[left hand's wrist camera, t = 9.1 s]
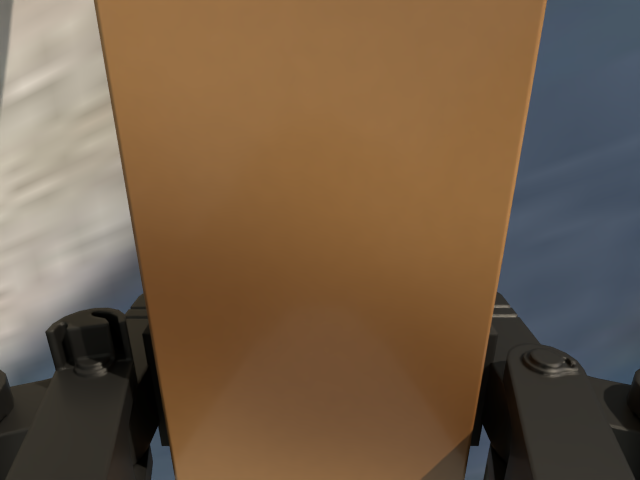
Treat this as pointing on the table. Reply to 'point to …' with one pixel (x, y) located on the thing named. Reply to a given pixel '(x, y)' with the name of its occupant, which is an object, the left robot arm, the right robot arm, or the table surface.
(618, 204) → the table surface
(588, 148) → the table surface
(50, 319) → the table surface
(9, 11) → the table surface
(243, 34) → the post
